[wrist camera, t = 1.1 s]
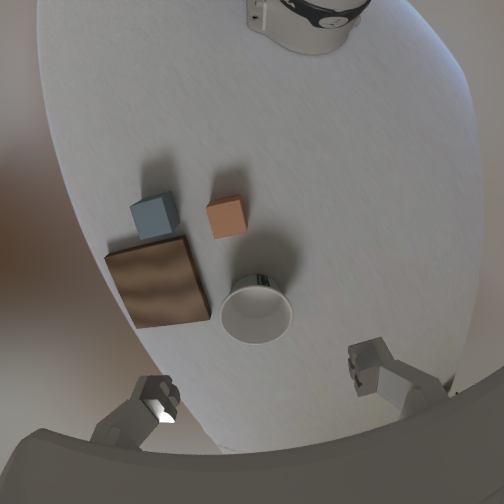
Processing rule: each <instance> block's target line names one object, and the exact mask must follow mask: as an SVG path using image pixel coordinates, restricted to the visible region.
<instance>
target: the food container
mask: <svg viewBox="0 0 504 504" xmlns="http://www.w3.org/2000/svg"><path fill="white" fill-rule="evenodd" d="M219 320H220V323H221V326H222V328H223V329H224V331H225V332H226V333H227V334H228V335H229V336H230V337H232V338H233V339H235V340H237V341H239V342H242V343H245V344H251V345H261V344H267V343H270V342H273V341H275V340H277V339H279V338H280V337H282V336H283V335H284V334H285V333H286V332H287V331H288V329H289V328H290V326H291V324H292V321H293V309H292V306H291V303H290V302H289V300H288V299H287V297H286V296H285V295H283V293H282V291H281V289H280V288H279V286H278V284H277V283H276V282H275V281H274V280H273V279H271V278H269V277H267V276H264V275H259V274H253V275H248V276H245V277H243V278H241V279H239V280H238V281H237V282H236V283H235V284H234V286H233V287H232V289H231V291H230V293H229V295H228V296H227V297H226V298H225V299H224V301H223V302H222V304H221V307H220V310H219Z"/></svg>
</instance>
